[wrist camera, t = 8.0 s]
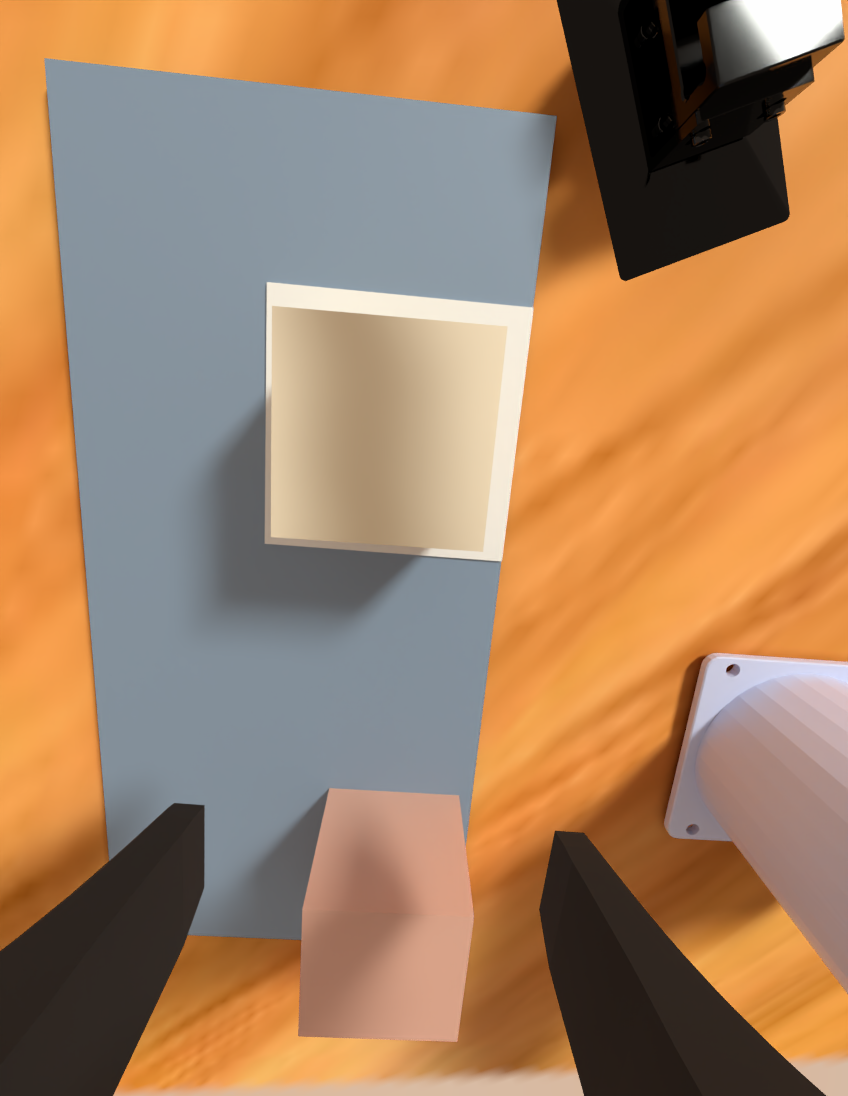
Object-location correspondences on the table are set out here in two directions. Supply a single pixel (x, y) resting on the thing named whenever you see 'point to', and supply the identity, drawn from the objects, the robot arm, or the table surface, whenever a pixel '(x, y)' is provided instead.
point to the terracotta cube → (386, 919)
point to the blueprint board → (245, 449)
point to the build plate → (691, 114)
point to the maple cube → (383, 428)
